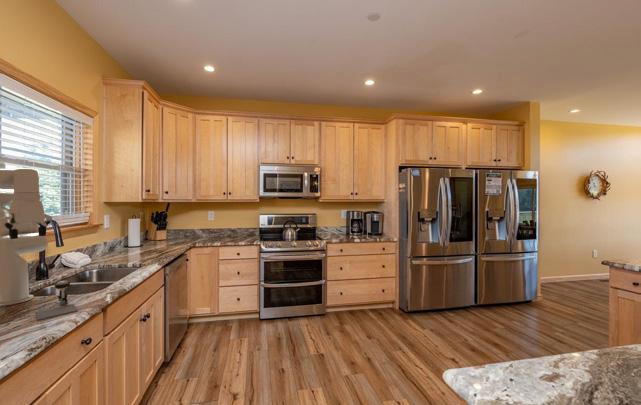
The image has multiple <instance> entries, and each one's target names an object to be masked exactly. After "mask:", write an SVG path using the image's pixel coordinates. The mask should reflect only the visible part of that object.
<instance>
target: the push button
mask: <svg viewBox="0 0 641 405" xmlns="http://www.w3.org/2000/svg"><path fill="white" fill-rule="evenodd" d="M70 285H71V281H68V280H60V281H57V282H56V283H55V284H54V289H55V290H59V295H58V296H57V297H58V298H57V299H58V304H60V306H64V305H66V304H67V303H68V294H67V292H66V289H68V287H70Z"/></svg>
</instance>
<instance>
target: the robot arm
mask: <svg viewBox="0 0 641 405" xmlns="http://www.w3.org/2000/svg"><path fill="white" fill-rule="evenodd" d="M39 174H40V173H39V170H38V169H35V168H29V167H28V168H26V167H22V168H21V167H17V168H15V169H8V168H0V307H3V306H4V307H6V306H12V305H17V304H20V303H24V302H27V301H28V302H29V301H30V300H32V299H33V298H34V295H33V294H30V292H29V289H30V288H29V287H30V286H29V265H28V261H27V260H26V259H25V258H24V257H22V256H20V255H25V254H34V253H38V252H39V253H40V252H43V251H45V250H46V249H47V247H48V238H47V235H46V234H47V227H48V225H49V224H51V222H52V219H53V216H52V215H48V214H47V213H45V208H44V204H43V202H42V200H41V199H43V197H44V196H43V195H42V194H41V193H40V175H39ZM6 206H7V207H9V208H7V207H6ZM45 219H46V220H45Z"/></svg>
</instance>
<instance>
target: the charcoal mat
mask: <svg viewBox="0 0 641 405" xmlns="http://www.w3.org/2000/svg"><path fill="white" fill-rule="evenodd" d="M76 312H79V311H78V308H77V306H76V305H75V304H74V303H70V304H67V305H66V304H64V305H60V306H57V307H52V308H48V309H44V310H43V309H42V310H39V311H35V316H36V321H37V322H38V321H42V320H45V319H50V318H55V317H60V316H63V315H68V314H71V313H76Z"/></svg>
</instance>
